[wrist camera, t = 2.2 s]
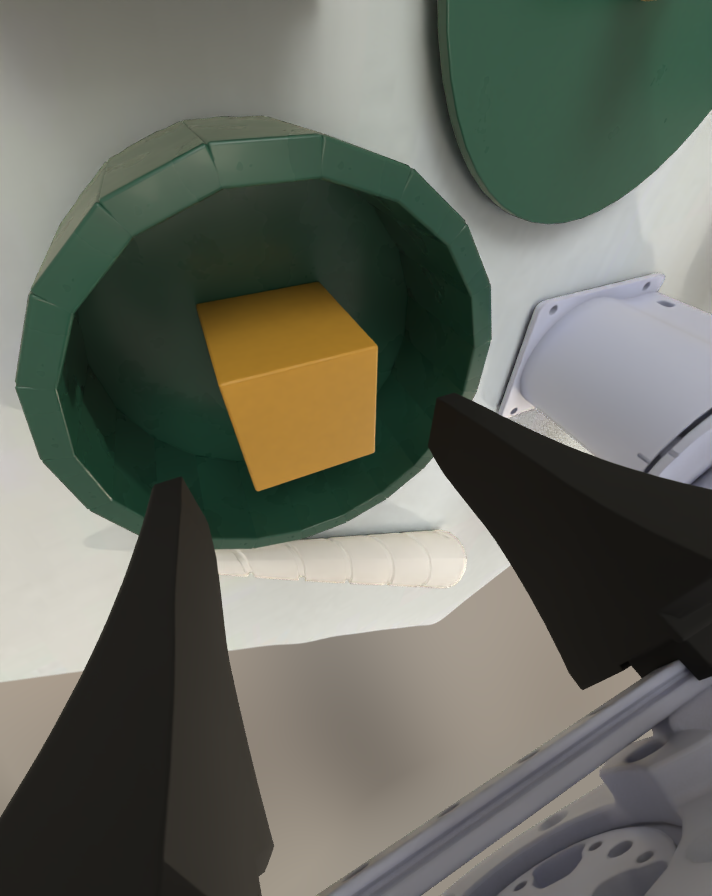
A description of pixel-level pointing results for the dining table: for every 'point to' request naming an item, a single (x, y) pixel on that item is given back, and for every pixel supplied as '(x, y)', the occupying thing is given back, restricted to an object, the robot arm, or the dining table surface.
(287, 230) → the tin
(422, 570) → the unicorn horn
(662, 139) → the tin lid
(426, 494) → the dining table surface
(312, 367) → the block
